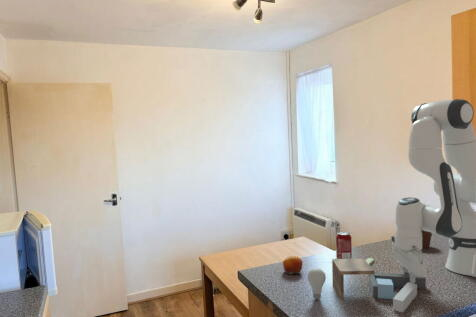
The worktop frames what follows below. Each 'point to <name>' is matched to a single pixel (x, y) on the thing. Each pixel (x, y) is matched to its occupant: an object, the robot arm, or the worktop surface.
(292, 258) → the fruit
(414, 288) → the grey stick
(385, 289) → the block
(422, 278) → the hook tool
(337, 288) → the shelf
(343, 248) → the soda can
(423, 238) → the muffin
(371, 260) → the pale green stick
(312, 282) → the lightbulb
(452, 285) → the worktop surface
